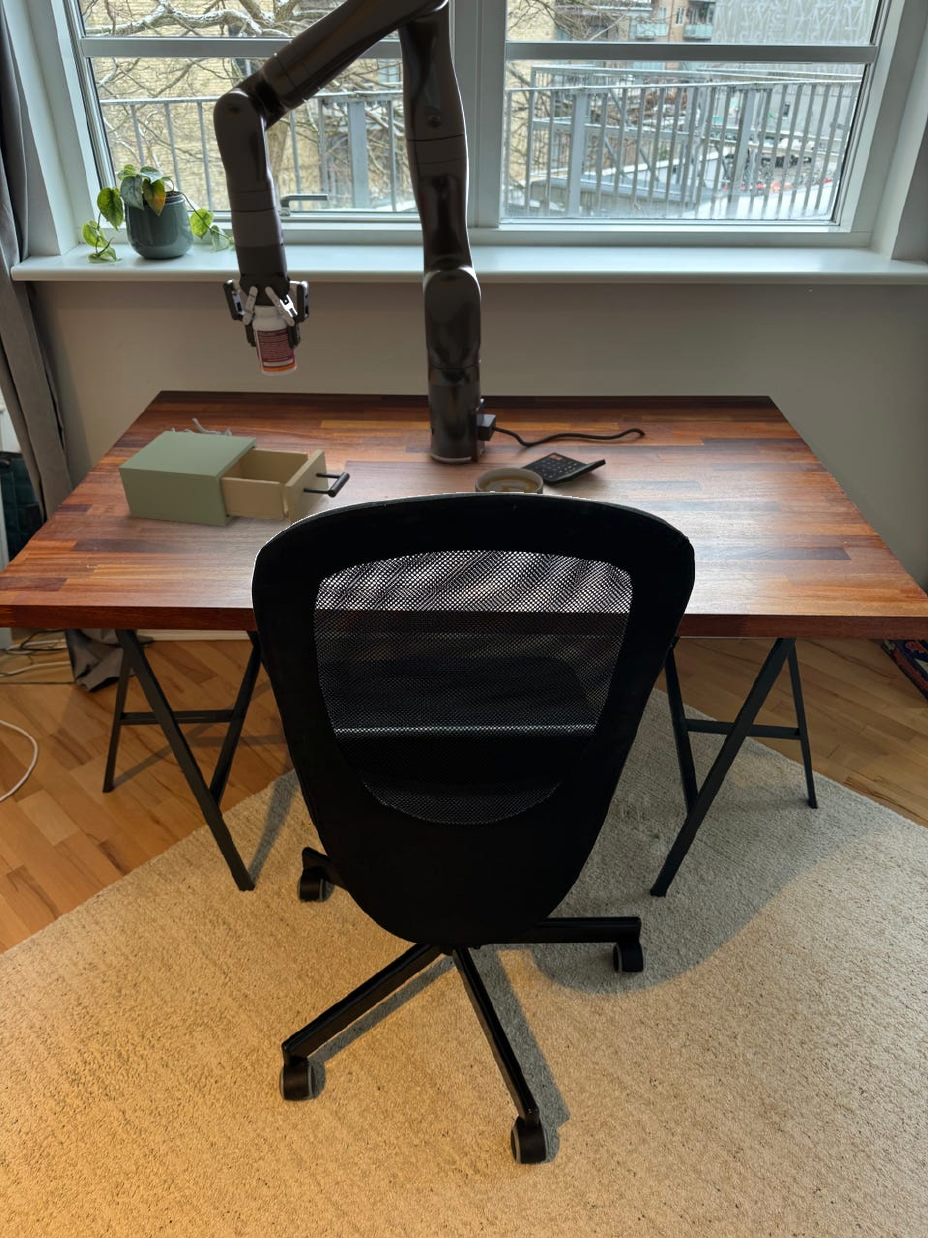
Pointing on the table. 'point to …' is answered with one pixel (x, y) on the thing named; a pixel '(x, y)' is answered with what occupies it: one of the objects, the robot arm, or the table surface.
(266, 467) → the drawer
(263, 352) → the pill bottle
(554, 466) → the calculator
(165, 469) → the cabinet
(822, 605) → the table surface
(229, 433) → the soldier figure
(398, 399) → the table surface
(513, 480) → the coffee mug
